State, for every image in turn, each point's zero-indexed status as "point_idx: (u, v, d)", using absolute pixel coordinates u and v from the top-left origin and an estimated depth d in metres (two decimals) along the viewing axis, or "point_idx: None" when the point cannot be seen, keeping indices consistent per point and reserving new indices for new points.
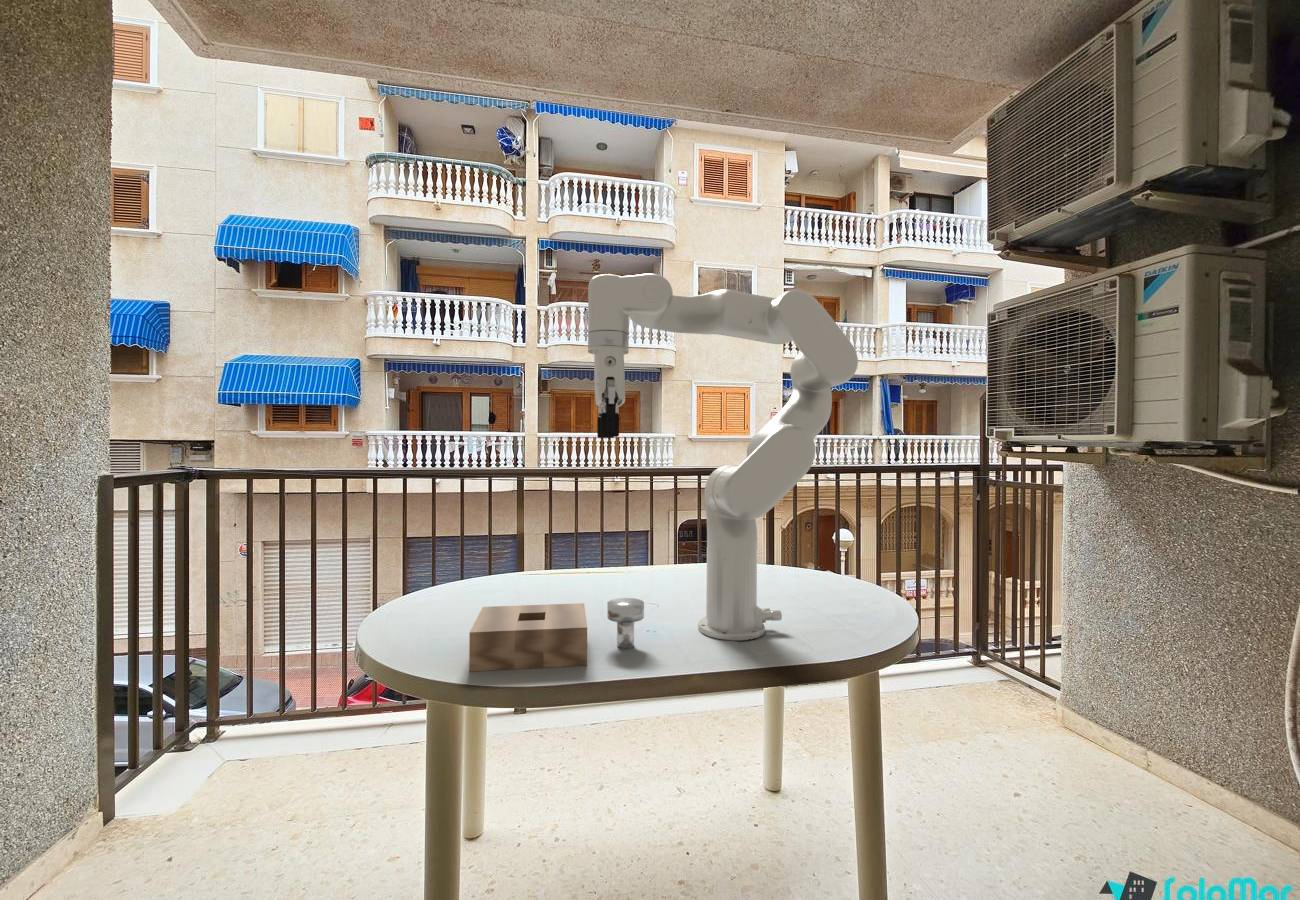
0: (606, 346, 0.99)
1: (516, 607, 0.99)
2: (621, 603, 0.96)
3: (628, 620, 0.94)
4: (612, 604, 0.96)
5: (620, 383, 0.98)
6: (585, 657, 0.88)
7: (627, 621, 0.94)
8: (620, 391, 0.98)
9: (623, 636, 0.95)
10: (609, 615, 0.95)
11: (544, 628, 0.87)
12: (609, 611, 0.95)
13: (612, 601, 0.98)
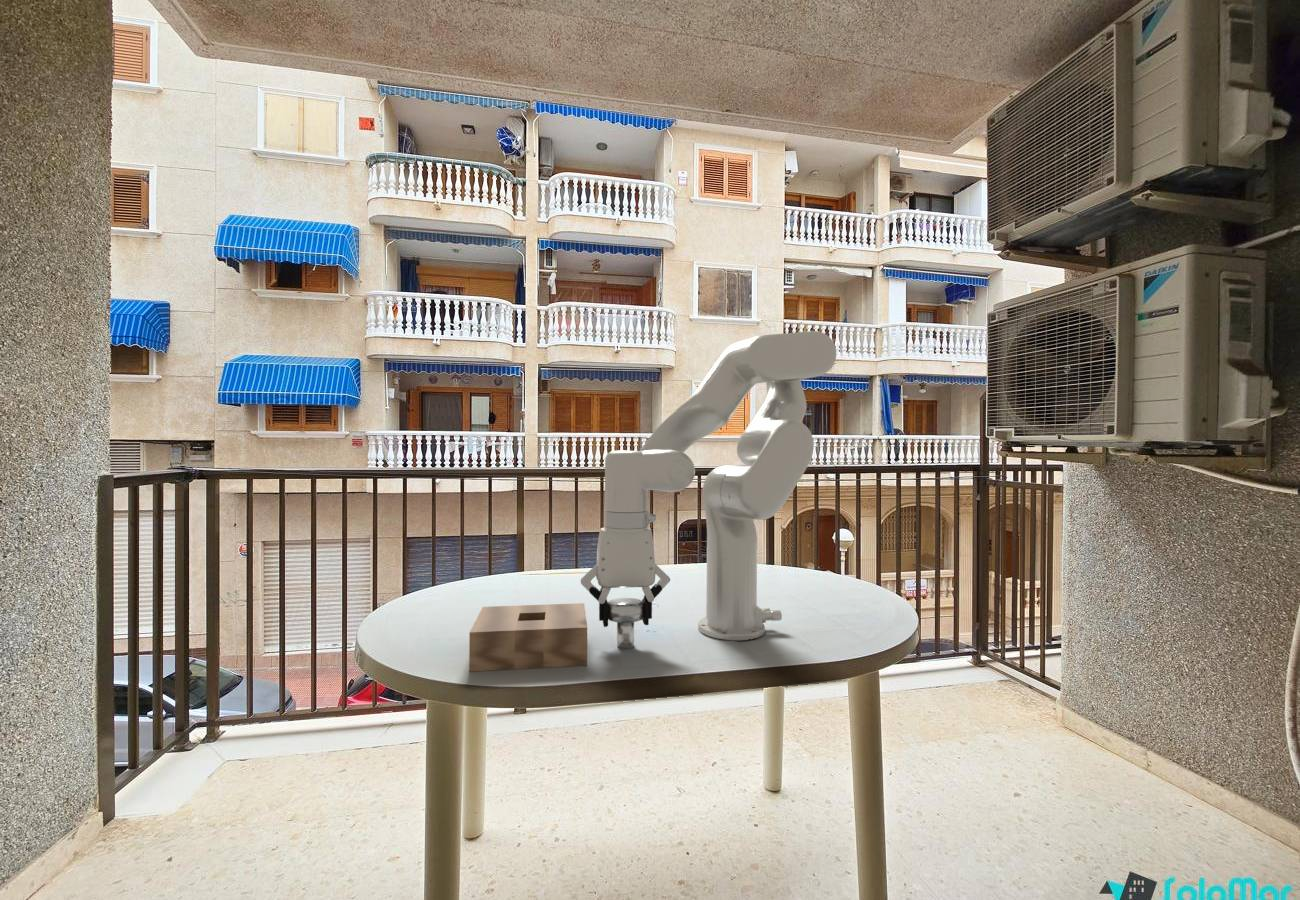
0: (647, 527, 0.97)
1: (516, 607, 0.99)
2: (621, 603, 0.96)
3: (628, 620, 0.94)
4: (612, 604, 0.96)
5: None
6: (585, 657, 0.88)
7: (627, 621, 0.94)
8: None
9: (623, 636, 0.95)
10: (609, 615, 0.95)
11: (544, 628, 0.87)
12: (609, 611, 0.95)
13: (612, 601, 0.98)
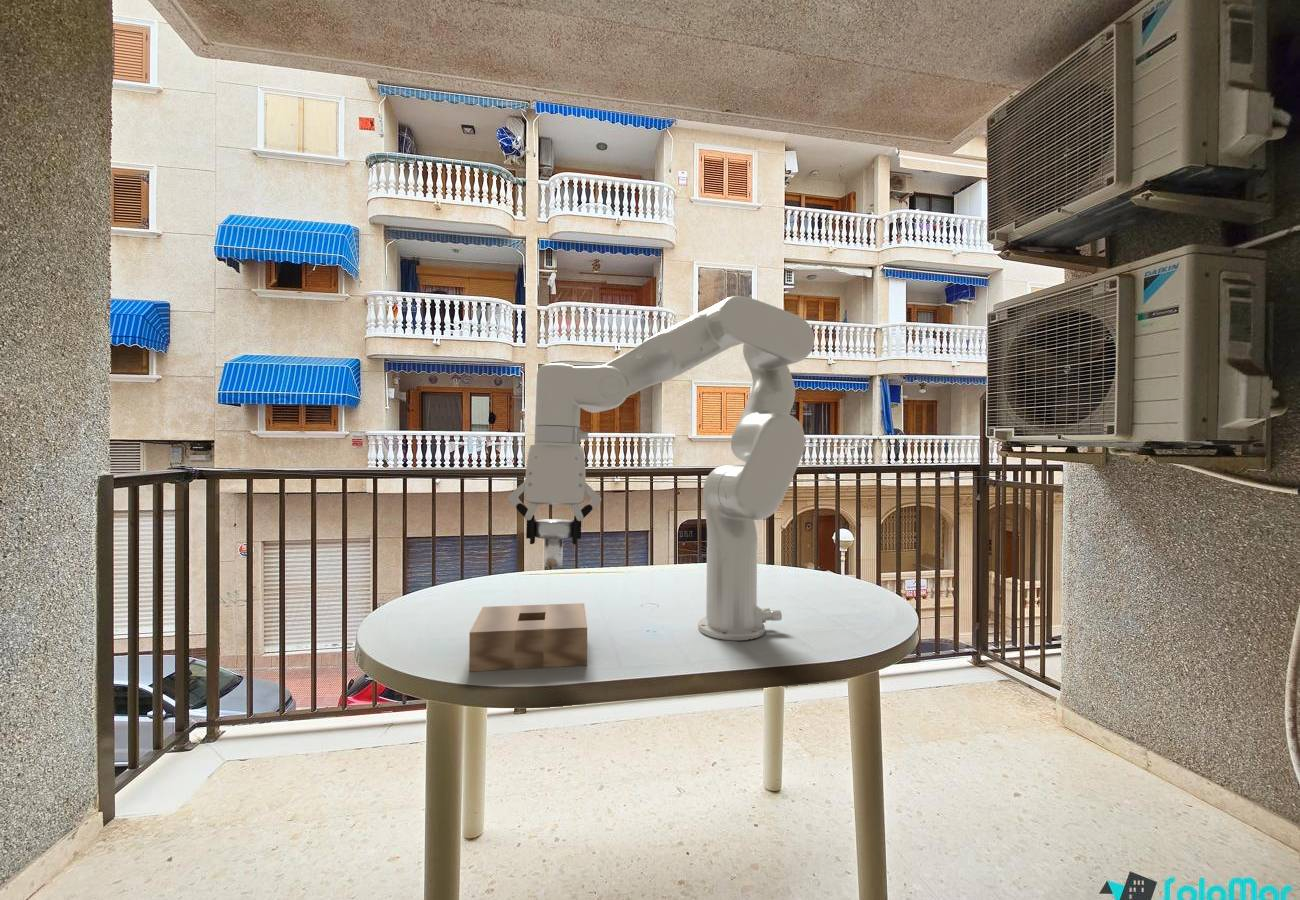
0: (578, 444, 0.94)
1: (516, 607, 0.99)
2: (549, 521, 0.93)
3: (554, 536, 0.91)
4: (539, 521, 0.93)
5: None
6: (585, 657, 0.88)
7: (553, 537, 0.91)
8: None
9: (550, 554, 0.93)
10: (536, 532, 0.92)
11: (544, 628, 0.87)
12: (536, 528, 0.92)
13: (541, 520, 0.95)
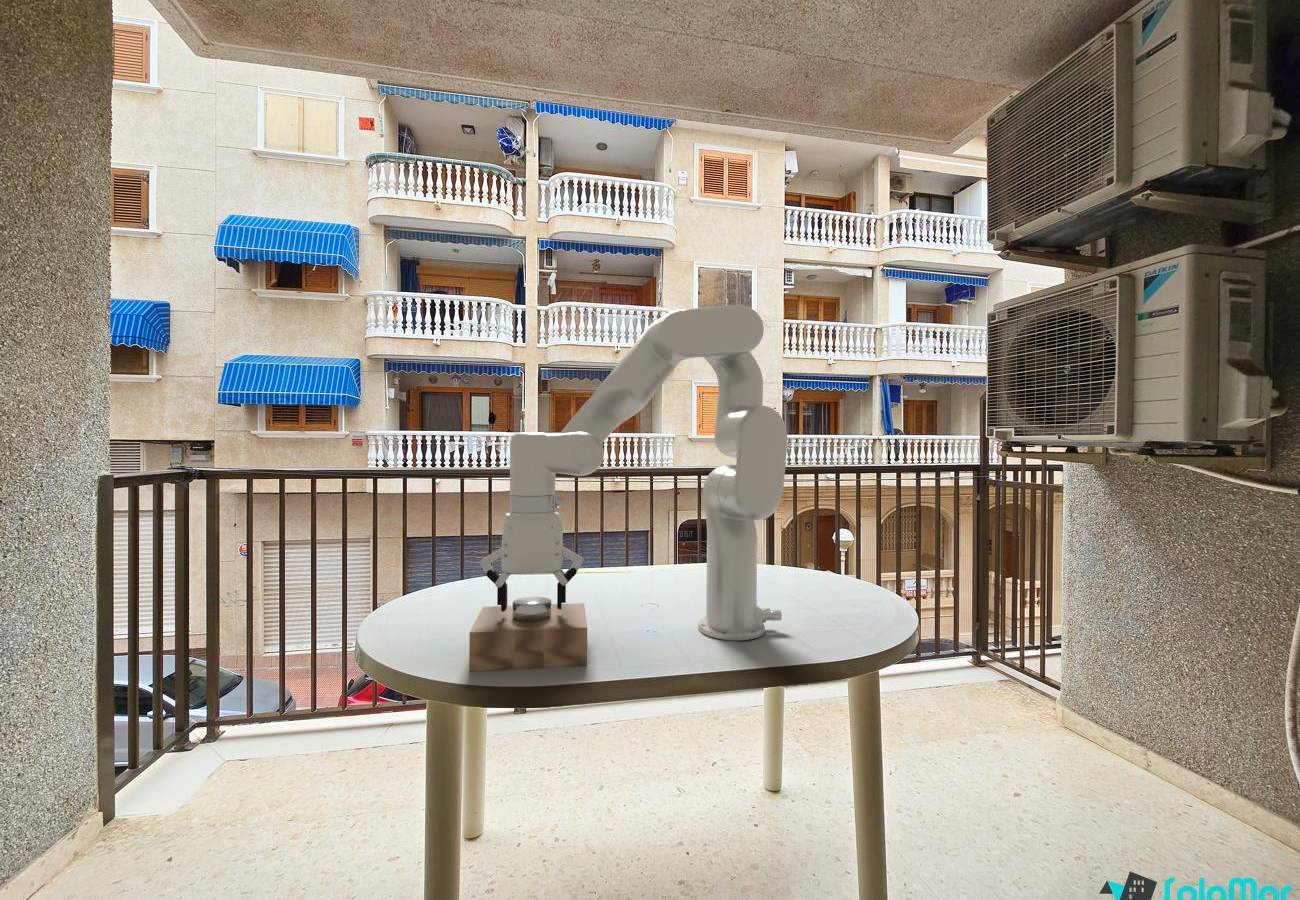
0: (554, 511, 0.93)
1: None
2: (527, 602, 0.93)
3: (531, 620, 0.90)
4: (517, 603, 0.92)
5: None
6: (585, 657, 0.88)
7: (530, 621, 0.90)
8: None
9: None
10: (513, 614, 0.92)
11: (544, 628, 0.87)
12: (513, 610, 0.92)
13: (519, 600, 0.94)
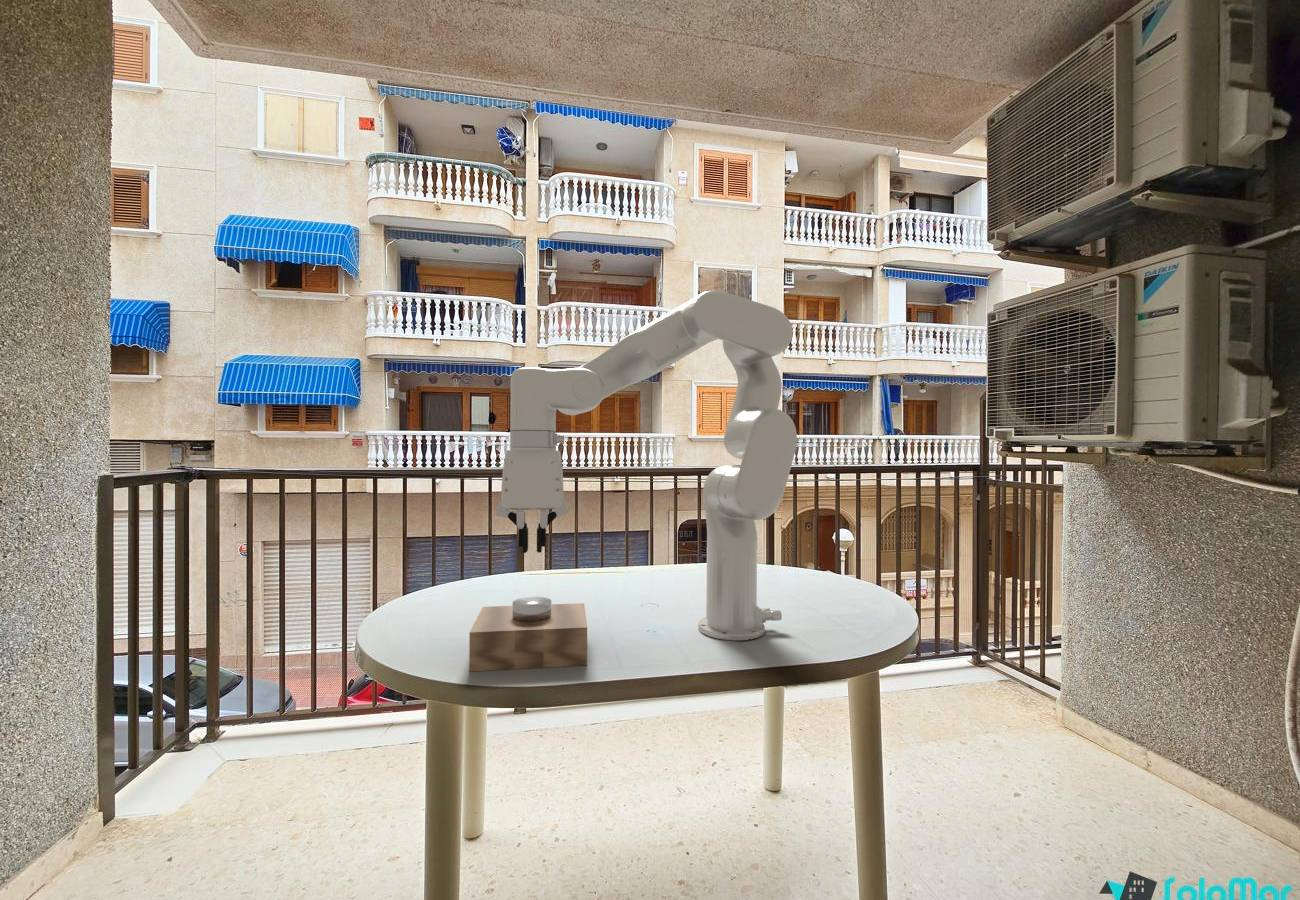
0: (554, 448, 0.93)
1: None
2: (527, 602, 0.93)
3: (531, 620, 0.90)
4: (517, 603, 0.92)
5: None
6: (585, 657, 0.88)
7: (530, 621, 0.90)
8: None
9: None
10: (513, 614, 0.92)
11: (544, 628, 0.87)
12: (513, 610, 0.92)
13: (519, 600, 0.94)
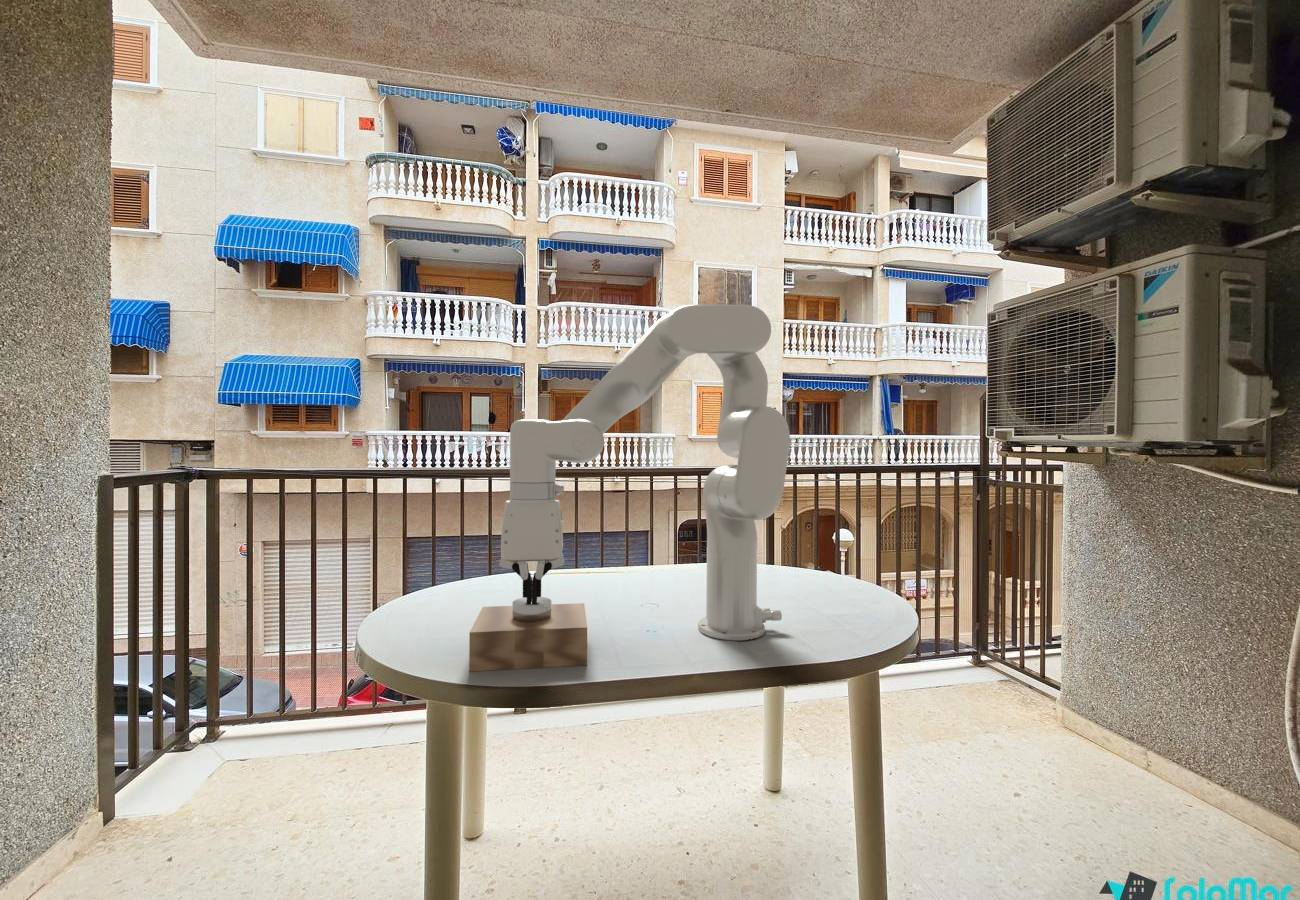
0: (554, 499, 0.93)
1: None
2: None
3: (531, 620, 0.90)
4: (517, 603, 0.92)
5: None
6: (585, 657, 0.88)
7: (530, 621, 0.90)
8: None
9: None
10: (513, 614, 0.92)
11: (544, 628, 0.87)
12: (513, 610, 0.92)
13: (519, 600, 0.94)
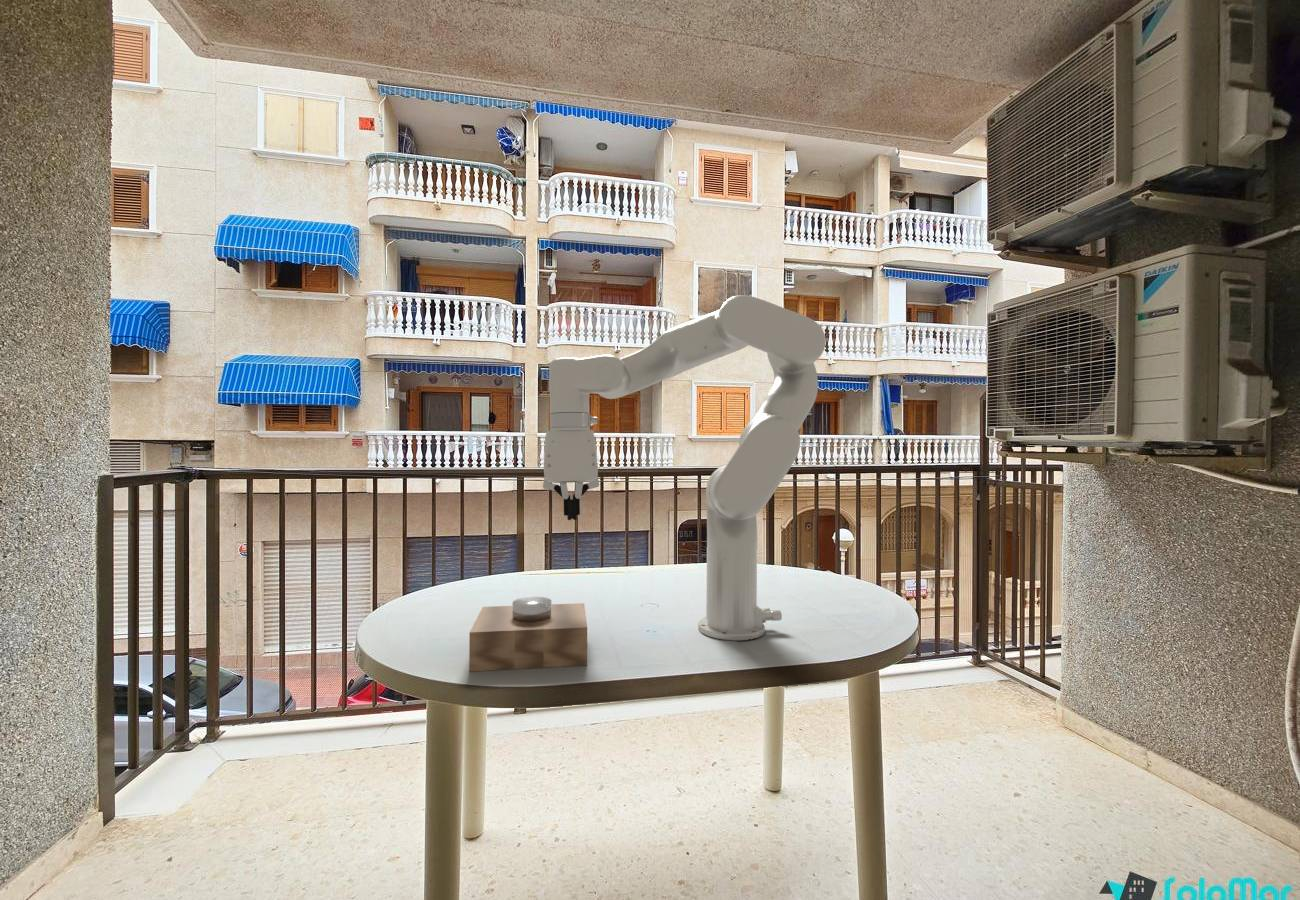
0: (589, 428, 1.06)
1: None
2: (527, 602, 0.93)
3: (531, 620, 0.90)
4: (517, 603, 0.92)
5: None
6: (585, 657, 0.88)
7: (530, 621, 0.90)
8: None
9: None
10: (513, 614, 0.92)
11: (544, 628, 0.87)
12: (513, 610, 0.92)
13: (519, 600, 0.94)
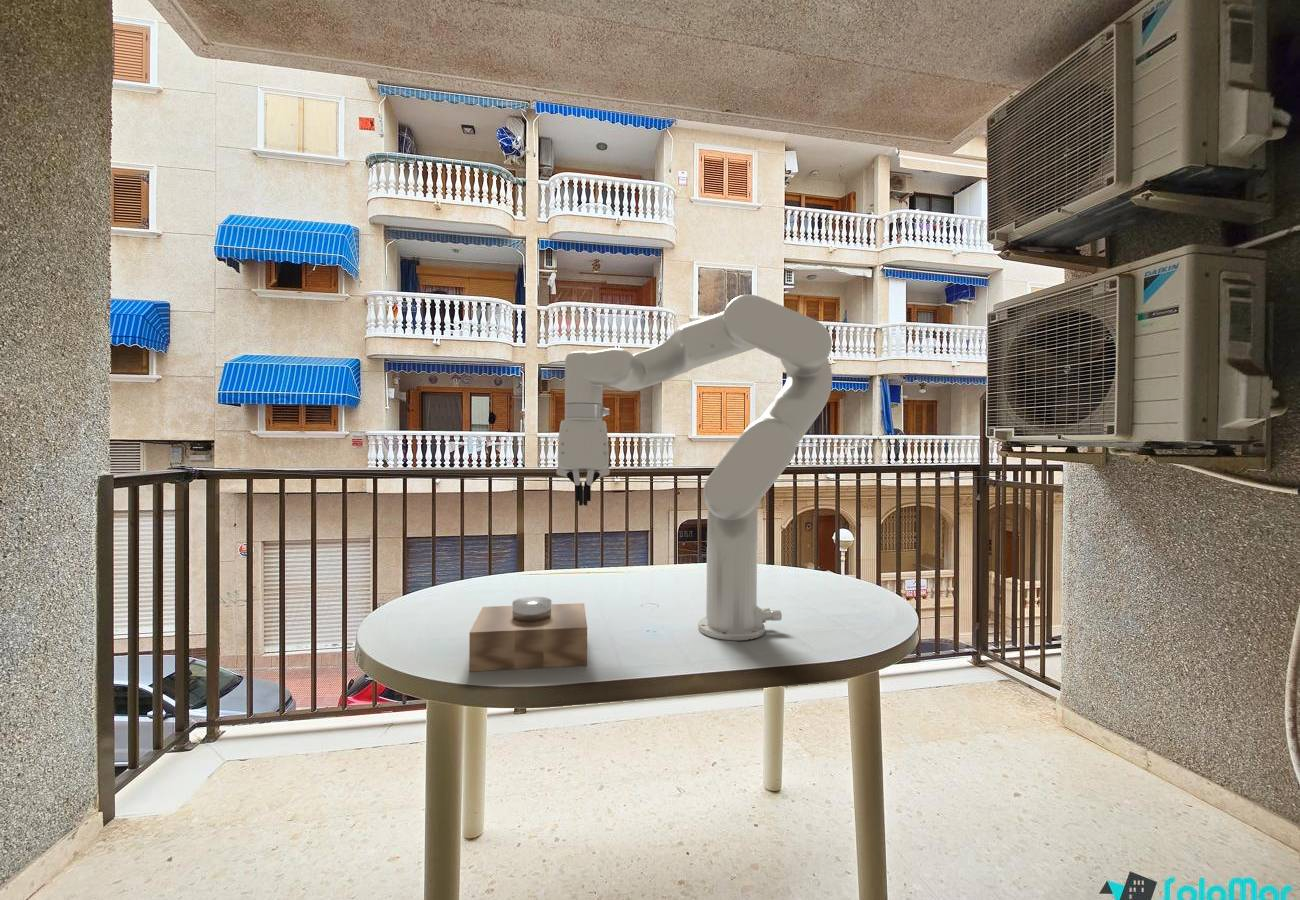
0: (601, 419, 1.12)
1: None
2: (527, 602, 0.93)
3: (531, 620, 0.90)
4: (517, 603, 0.92)
5: None
6: (585, 657, 0.88)
7: (530, 621, 0.90)
8: None
9: None
10: (513, 614, 0.92)
11: (544, 628, 0.87)
12: (513, 610, 0.92)
13: (519, 600, 0.94)
